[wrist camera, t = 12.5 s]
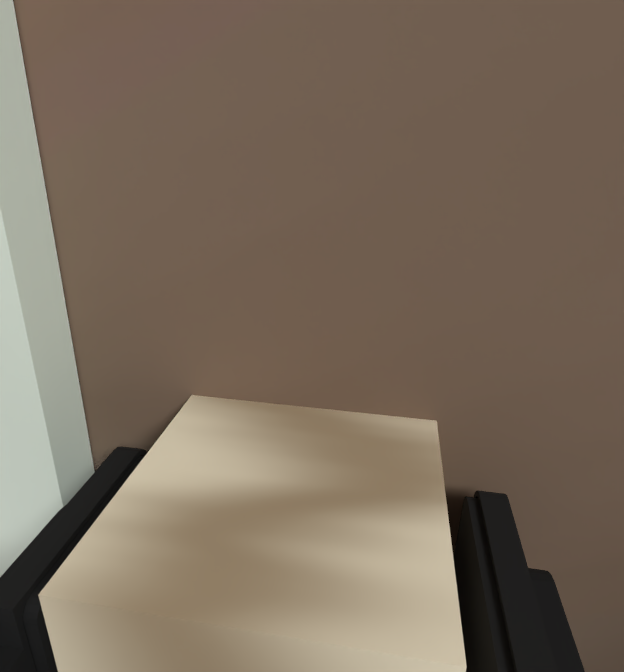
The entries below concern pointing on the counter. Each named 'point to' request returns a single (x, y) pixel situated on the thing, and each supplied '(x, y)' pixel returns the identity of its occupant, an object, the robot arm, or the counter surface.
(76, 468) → the build board
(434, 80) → the counter surface
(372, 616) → the maple cube
